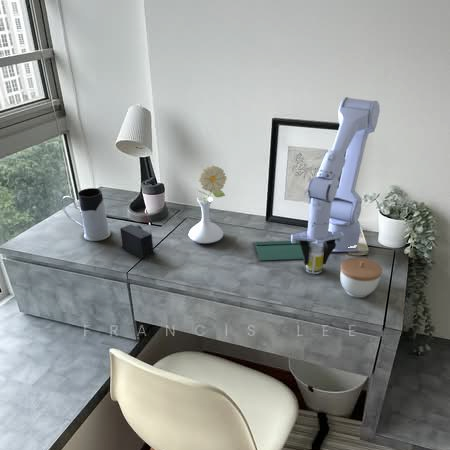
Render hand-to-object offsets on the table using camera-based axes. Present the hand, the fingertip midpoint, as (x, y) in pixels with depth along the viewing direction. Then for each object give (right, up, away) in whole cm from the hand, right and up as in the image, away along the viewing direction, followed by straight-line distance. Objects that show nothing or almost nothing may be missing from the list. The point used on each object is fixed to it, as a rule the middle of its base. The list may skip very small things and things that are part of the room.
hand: (314, 263), depth 141 cm
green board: (-6, +5, +11) cm, 14 cm away
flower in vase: (-32, +9, +18) cm, 38 cm away
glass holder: (-72, +11, +22) cm, 76 cm away
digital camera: (-53, +5, +12) cm, 55 cm away
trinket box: (+10, -9, -8) cm, 16 cm away
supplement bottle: (0, -2, +1) cm, 3 cm away
